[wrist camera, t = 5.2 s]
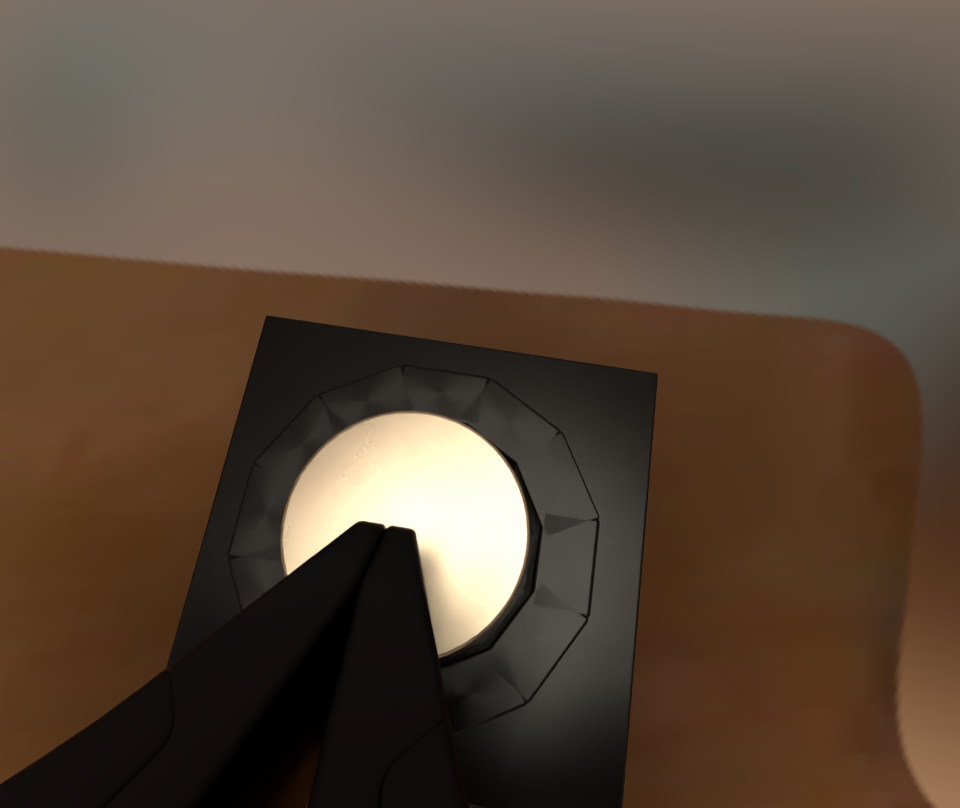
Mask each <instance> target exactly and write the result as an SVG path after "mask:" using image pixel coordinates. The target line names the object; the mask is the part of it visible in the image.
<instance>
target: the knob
mask: <svg viewBox="0 0 960 808" xmlns="http://www.w3.org/2000/svg"><path fill="white" fill-rule="evenodd" d="M358 521H368V522H374V523H381V524H384V525H385V526H386V528H387V527H389V526H392V525H393V526H399V527H405V528H411V529H413V530H415V532H416V536H417V541H418V547H419V552H420V558H421V563H422V569H423V574H424V580H425V586H426V591H427V597H428V602H429V608H430V613H431V619H432V624H433V630H434V635H435V641H436V646H437V652H438V657H439V659H440V658H443V657H446V656H449V655H451V654H453V653H455V652H457V651H459V650H461V649H463V648H465V647H466V646H468V645H469V644H471V643H472V642H474V641H475V640H477V639H478V638H479V637H481V636H482V635H483V634H484V633H485V632H486V631H487V630H488V629H490V628H491V627H492V626H493V625H494V623H495V622H496V621H497V620H498V619H499V618H500V617H501V615H502V614H503V613H504V612H505V610H506V608H507V607H508V605H509V604H510V602H511V601H512V599H513V598H514V596H515V593H516V591H517V589H518V587H519V585H520V583H521V580H522V577H523V574H524V571H525V568H526V564H527V559H528V554H529V547H530V519H529V513H528V507H527V502H526V499H525V496H524V493H523V490H522V487H521V484H520V482H519V480H518V478H517V476H516V474H515V472H514V470H513V469H512V467H511V466H510V464H509V463H508V461H507V460H506V458H505V457H504V456H503V455H502V453H501V452H500V451H499V450H498V449H497V448H496V446H494V445H493V444H492V443H491V442H490V441H489V440H488V439H487V438H486V437H484V436H483V435H482V434H480V433H479V432H477V431H476V430H474V429H473V428H471V427H470V426H468V425H466V424H464V423H462V422H460V421H458V420H455V419H452V418H450V417H447V416H444V415H440V414H435V413H431V412H424V411H395V412H389V413H383V414H379V415H376V416H372V417H369V418H366V419H364V420H361V421H359V422H357V423H354V424H352V425H350V426H349V427H347V428H345V429H344V430H342V431H340V432H339V433H337V434H336V435H335V436H333V437H332V438H331V439H329V440H328V441H327V442H326V443H325V444H324V445H323V446H322V447H321V448H319V449H318V450H317V451H316V452H315V453H314V455H313V456H312V457H311V458H310V460H309V461H308V462H307V463H306V465H305V466H304V467H303V469H302V471H301V472H300V474H299V476H298V477H297V479H296V481H295V483H294V485H293V487H292V489H291V492H290V494H289V496H288V500H287V503H286V506H285V509H284V513H283V519H282V524H281V537H280V548H281V561H282V565H283V570H284V575H285V577H286V576H287V575H289V574H290V573H291V572H292V571H294V570H295V569H296V568H298V567H299V566H300V565H302V564H303V563H304V562H305V561H307V560H308V559H309V558H311V557H312V556H313V555H315V554H316V553H317V552H318V551H320V550H321V549H322V548H324V547H325V546H326V545H328V544H329V543H330V542H331V541H333V540H334V539H335V538H337V537H338V536H339V535H341V534H342V533H343V532H344V531H346V530H347V529H348V528H350V527H351V526H352V525H354V524H355V523H356V522H358Z"/></svg>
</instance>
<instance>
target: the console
mask: <svg viewBox="0 0 960 808" xmlns="http://www.w3.org/2000/svg"><path fill="white" fill-rule="evenodd" d="M657 378H658V375H657V374H656V373H650V372H643V371H637V370H630V369H623V368H617V367H610V366H603V365H596V364H590V363H583V362H576V361H570V360H563V359H556V358H549V357H543V356H536V355H529V354H523V353H516V352H509V351H502V350H496V349H489V348H482V347H476V346H469V345H462V344H455V343H449V342H442V341H435V340H429V339H422V338H415V337H408V336H402V335H395V334H388V333H381V332H375V331H368V330H361V329H355V328H348V327H341V326H334V325H328V324H321V323H314V322H308V321H301V320H294V319H287V318H281V317H274V316H266V318H265V322H264V325H263V329H262V332H261V336H260V340H259V343H258V347H257V350H256V354H255V357H254V361H253V364H252V368H251V371H250V375H249V378H248V382H247V385H246V389H245V393H244V396H243V400H242V403H241V407H240V410H239V414H238V417H237V421H236V424H235V428H234V431H233V435H232V439H231V442H230V446H229V449H228V453H227V456H226V460H225V463H224V467H223V470H222V474H221V477H220V481H219V484H218V488H217V492H216V495H215V499H214V502H213V506H212V509H211V513H210V516H209V520H208V523H207V527H206V530H205V534H204V537H203V541H202V545H201V548H200V552H199V555H198V559H197V562H196V566H195V569H194V573H193V576H192V580H191V583H190V587H189V590H188V594H187V598H186V601H185V605H184V608H183V612H182V615H181V619H180V622H179V626H178V629H177V633H176V636H175V640H174V644H173V647H172V651H171V654H170V658H169V661H168V665H167V668H166V670H169V671H170V666H171V665H172V664H173V663H174V662H176V661H177V660H178V659H179V658H181V657H182V656H183V655H185V654H186V653H187V652H189V651H190V650H191V649H192V648H194V647H195V646H196V645H198V644H199V643H200V642H202V641H203V640H204V639H205V638H207V637H208V636H209V635H211V634H212V633H213V632H215V631H216V630H217V629H218V628H220V627H221V626H222V625H224V624H225V623H226V622H228V621H229V620H230V619H231V618H233V617H234V616H235V615H237V614H238V613H239V612H241V611H242V610H243V609H244V608H246V607H247V606H248V605H250V604H251V603H252V602H254V601H255V600H256V599H257V598H259V597H260V596H261V595H263V594H264V593H265V592H266V591H268V590H269V589H270V588H272V587H273V586H274V585H276V584H277V583H278V582H279V581H281V580H282V579H283V578H285V575H284V570H283V565H282V561H281V548H280V537H281V524H282V519H283V513H284V509H285V506H286V503H287V500H288V496H289V494H290V492H291V489H292V487H293V485H294V483H295V481H296V479H297V477H298V476H299V474H300V472H301V471H302V469H303V467H304V466H305V465H306V463H307V462H308V461H309V460H310V458H311V457H312V456H313V455H314V453H315V452H316V451H317V450H318V449H319V448H321V447H322V446H323V445H324V444H325V443H326V442H327V441H328V440H329V439H331V438H332V437H333V436H335V435H336V434H337V433H339V432H340V431H342V430H344V429H345V428H347V427H349V426H350V425H352V424H354V423H357V422H359V421H361V420H364V419H366V418H369V417H372V416H376V415H379V414H383V413H389V412H395V411H424V412H431V413H435V414H440V415H444V416H447V417H450V418H452V419H455V420H458V421H460V422H462V423H464V424H466V425H468V426H470V427H471V428H473V429H474V430H476V431H477V432H479V433H480V434H482V435H483V436H484V437H486V438H487V439H488V440H489V441H490V442H491V443H492V444H493V445H494V446H496V448H497V449H498V450H499V451H500V452H501V453H502V455H503V456H504V457H505V458H506V460H507V461H508V463H509V464H510V466H511V467H512V469H513V470H514V472H515V474H516V476H517V478H518V480H519V482H520V484H521V487H522V490H523V493H524V496H525V499H526V502H527V507H528V513H529V519H530V547H529V554H528V559H527V564H526V568H525V571H524V574H523V577H522V580H521V583H520V585H519V587H518V589H517V591H516V593H515V596H514V598H513V599H512V601H511V602H510V604H509V605H508V607H507V608H506V610H505V612H504V613H503V614H502V615H501V617H500V618H499V619H498V620H497V621H496V622H495V623H494V625H493V626H492V627H491V628H490V629H488V630H487V631H486V632H485V633H484V634H483V635H482V636H481V637H479V638H478V639H477V640H475V641H474V642H472V643H471V644H469V645H468V646H466V647H465V648H463V649H461V650H459V651H457V652H455V653H453V654H451V655H449V656H446V657H443V658H440V659H439V663H440V668H441V674H442V680H443V685H444V691H445V696H446V702H447V707H448V713H449V721H450V722H451V728H452V733H453V739H454V744H455V749H456V754H457V759H458V763H459V768H460V772H461V777H462V781H463V786H464V790H465V794H466V797H467V801H468V804H469V806H470V807H476V808H622V805H623V792H624V780H625V768H626V756H627V744H628V732H629V719H630V707H631V695H632V683H633V671H634V658H635V646H636V634H637V622H638V610H639V597H640V585H641V573H642V561H643V549H644V537H645V524H646V512H647V500H648V488H649V476H650V463H651V451H652V439H653V427H654V415H655V402H656V390H657Z"/></svg>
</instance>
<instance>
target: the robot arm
mask: <svg viewBox="0 0 960 808" xmlns="http://www.w3.org/2000/svg"><path fill="white" fill-rule="evenodd" d="M307 804H308V805H307ZM306 806H307V808H469V804H468V801H467V797H466V794H465V790H464V786H463V781H462V777H461V772H460V768H459V763H458V759H457V754H456V749H455V744H454V739H453V733H452V728H451V722H450V721H449V713H448V707H447V702H446V696H445V691H444V685H443V680H442V674H441V668H440V663H439V657H438V652H437V646H436V641H435V635H434V630H433V624H432V619H431V613H430V608H429V602H428V597H427V591H426V586H425V580H424V574H423V569H422V563H421V558H420V552H419V547H418V541H417V536H416V532H415V530H413V529H411V528H405V527H399V526H393V525H392V526H389V527H387V528H386V526H385V525H384V524H381V523H374V522H368V521H358V522H356V523H355V524H354V525H352V526H351V527H350V528H348V529H347V530H346V531H344V532H343V533H342V534H341V535H339V536H338V537H337V538H335V539H334V540H333V541H331V542H330V543H329V544H328V545H326V546H325V547H324V548H322V549H321V550H320V551H318V552H317V553H316V554H315V555H313V556H312V557H311V558H309V559H308V560H307V561H305V562H304V563H303V564H302V565H300V566H299V567H298V568H296V569H295V570H294V571H292V572H291V573H290V574H289V575H287V576H286V577H285V578H283V579H282V580H281V581H279V582H278V583H277V584H276V585H274V586H273V587H272V588H270V589H269V590H268V591H266V592H265V593H264V594H263V595H261V596H260V597H259V598H257V599H256V600H255V601H254V602H252V603H251V604H250V605H248V606H247V607H246V608H244V609H243V610H242V611H241V612H239V613H238V614H237V615H235V616H234V617H233V618H231V619H230V620H229V621H228V622H226V623H225V624H224V625H222V626H221V627H220V628H218V629H217V630H216V631H215V632H213V633H212V634H211V635H209V636H208V637H207V638H205V639H204V640H203V641H202V642H200V643H199V644H198V645H196V646H195V647H194V648H192V649H191V650H190V651H189V652H187V653H186V654H185V655H183V656H182V657H181V658H179V659H178V660H177V661H176V662H174V663H173V664H172V665H171V666H170V671H169V670H164V671H162V672H161V673H160V674H158V675H157V676H156V677H154V678H153V679H152V680H150V681H149V682H148V683H147V684H145V685H144V686H143V687H141V688H140V689H139V690H137V691H136V692H135V693H133V694H132V695H131V696H129V697H128V698H127V699H125V700H124V701H122V702H121V703H120V704H118V705H117V706H116V707H114V708H113V709H112V710H110V711H109V712H107V713H106V714H105V715H103V716H102V717H101V718H99V719H98V720H97V721H95V722H94V723H92V724H91V725H89V726H88V727H86V728H85V729H83V730H82V731H80V732H79V733H77V734H76V735H74V736H73V737H71V738H70V739H68V740H67V741H65V742H64V743H63V744H61V745H60V746H58V747H57V748H55V749H54V750H52V751H51V752H49V753H48V754H46V755H45V756H43V757H42V758H40V759H38V760H37V761H35V762H34V763H32V764H31V765H29V766H28V767H26V768H25V769H23V770H21V771H20V772H18V773H17V774H15V775H14V776H12V777H11V778H9V779H8V780H6V781H4V782H3V783H1V784H0V808H306Z"/></svg>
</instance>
